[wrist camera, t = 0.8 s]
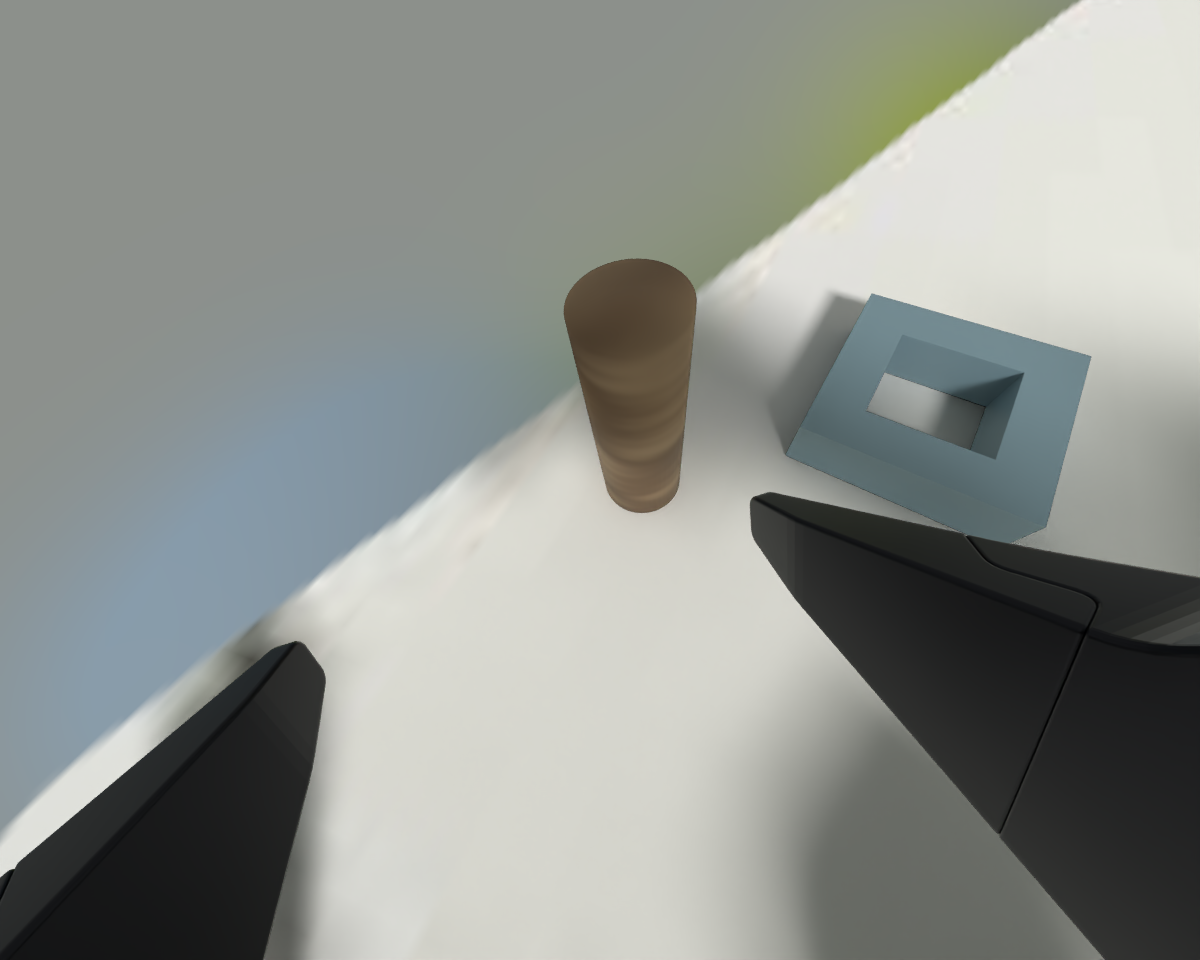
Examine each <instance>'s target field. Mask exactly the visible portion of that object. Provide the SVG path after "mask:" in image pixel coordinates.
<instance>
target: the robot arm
mask: <svg viewBox="0 0 1200 960" xmlns="http://www.w3.org/2000/svg"><path fill="white" fill-rule="evenodd" d="M750 517H751V532H752V535H753V538H754V540H755V542H756V543H757V545H758V546H759V548H760V549H761V551H762V552H763V554H764V555H765V557H766V558H767V559H768V561H769V562H770V564H771V565H772V567H773V568H774V570H775V571H776V573H777V574H778V575H779V577H780V578H781V580H782V581H783V583H784V584H785V586H786V587H787V589H788V590H789V591H790V593H791V594H792V595H793V597H794V598H795V599H796V601H797V602H798V603H799V604H800V605H801V607H802V608H803V609H804V610H805V611H806V613H807V614H808V615H809V616H810V617H811V618H812V619H813V621H814V622H815V623H816V624H817V625H818V626H819V628H820V629H821V630H822V631H823V632H824V633H825V635H826V636H827V637H828V638H829V639H830V640H831V642H832V643H833V644H834V645H835V646H836V647H837V648H838V650H839V651H840V652H841V653H842V654H843V655H844V657H845V658H846V659H847V660H848V661H849V662H850V664H851V665H852V666H853V667H854V668H855V669H856V671H857V672H858V673H859V674H860V675H861V676H862V678H863V679H864V680H865V681H866V682H867V683H868V684H869V686H870V687H871V688H872V689H873V690H874V691H875V693H876V694H877V695H878V696H879V697H880V698H881V700H882V701H883V702H884V703H885V704H886V705H887V707H888V708H889V709H890V710H891V711H892V712H893V714H894V715H895V716H896V717H897V718H898V719H899V720H900V722H901V723H902V724H903V725H904V726H905V727H906V729H907V730H908V731H909V732H910V733H911V734H912V736H913V737H914V738H915V739H916V740H917V741H918V743H919V744H920V745H921V746H922V747H923V748H924V750H925V751H926V752H927V753H928V754H929V755H930V756H931V758H932V759H933V760H934V761H935V762H936V763H937V765H938V766H939V767H940V768H941V769H942V770H943V772H944V773H945V774H946V775H947V776H948V777H949V779H950V780H951V781H952V782H953V783H954V784H955V785H956V787H957V788H958V789H959V790H960V791H961V792H962V794H963V795H964V796H965V797H966V798H967V799H968V801H969V802H970V803H971V804H972V805H973V806H974V808H975V809H976V810H977V811H978V812H979V813H980V815H981V816H982V817H983V818H984V819H985V820H986V821H987V823H988V824H989V825H990V826H991V827H992V828H993V830H994V831H995V832H996V833H998V834H1000V835H999V836H1000V838H1001V839H1002V841H1003V842H1004V843H1005V844H1006V845H1007V846H1008V848H1009V849H1010V850H1011V851H1012V852H1013V853H1014V855H1015V856H1016V857H1017V858H1018V859H1019V860H1020V862H1021V863H1022V864H1023V865H1024V866H1025V867H1026V868H1027V870H1028V871H1029V872H1030V873H1031V874H1032V875H1033V877H1034V878H1035V879H1036V880H1037V881H1038V882H1039V884H1040V885H1041V886H1042V887H1043V888H1044V889H1045V891H1046V892H1047V893H1048V894H1049V895H1050V896H1051V898H1052V899H1053V900H1054V901H1055V902H1056V903H1057V904H1058V906H1059V907H1060V908H1061V909H1062V910H1063V911H1064V913H1065V914H1066V915H1067V916H1068V917H1069V918H1070V920H1071V921H1072V922H1073V923H1074V924H1075V925H1076V927H1077V928H1078V929H1079V930H1080V931H1081V932H1082V933H1083V935H1084V936H1085V937H1086V938H1087V939H1088V940H1089V942H1090V943H1091V944H1092V945H1093V946H1094V947H1095V949H1096V950H1097V951H1098V952H1099V953H1100V954H1101V956H1102V957H1103V958H1104V959H1105V960H1200V577H1196V576H1190V575H1184V574H1178V573H1172V572H1166V571H1160V570H1154V569H1148V568H1143V567H1137V566H1131V565H1125V564H1119V563H1113V562H1107V561H1101V560H1096V559H1090V558H1084V557H1078V556H1073V555H1067V554H1062V553H1056V552H1051V551H1045V550H1039V549H1034V548H1029V547H1024V546H1020V545H1015V544H1010V543H1005V542H1000V541H995V540H990V539H986V538H981V537H977V536H972V535H967V536H965V535H964V534H962V533H958V532H953V531H949V530H944V529H939V528H935V527H930V526H926V525H921V524H916V523H912V522H907V521H902V520H898V519H893V518H888V517H884V516H879V515H875V514H870V513H865V512H861V511H856V510H852V509H847V508H842V507H838V506H833V505H828V504H824V503H819V502H815V501H810V500H805V499H801V498H796V497H792V496H787V495H782V494H778V493H773V492H767V493H764V494H761V495H758V496H755V497H753V498H752V499H751V501H750ZM325 685H326V678H325V673H324V671H323V669H322V667H321V666H320V665H319V663H318V662H317V661H316V659H315V658H314V656H313V655H312V654H311V652H310V651H309V650H308V648H307V647H306V646H305V645H304V644H303V643H302V642H299V641H294V642H291V643H288V644H285V645H282V646H278V647H276V648H274V649H272V650H270V651H269V652H268V653H267V654H266V655H264V656H263V657H262V658H261V659H260V660H259V661H257V662H256V663H255V664H254V665H253V666H251V667H250V668H249V669H248V670H247V671H245V672H244V673H243V674H242V675H241V676H240V677H238V678H237V679H236V680H235V681H234V682H232V683H231V684H230V685H229V686H228V687H226V688H225V689H224V690H223V691H222V692H221V693H219V694H218V695H217V696H216V697H215V698H213V699H212V700H211V701H210V702H209V703H207V704H206V705H205V706H204V707H203V708H201V709H200V710H199V711H198V712H197V713H196V714H194V715H193V716H192V717H191V718H190V719H188V720H187V721H186V722H185V723H184V724H182V725H181V726H180V727H179V728H178V729H177V730H175V731H174V732H173V733H172V734H171V735H169V736H168V737H167V738H166V739H165V740H163V741H162V742H161V743H160V744H159V745H157V746H156V747H155V748H154V749H153V750H152V751H150V752H149V753H148V754H147V755H146V756H144V757H143V758H142V759H141V760H140V761H138V762H137V763H136V764H135V765H134V766H133V767H131V768H130V769H129V770H128V771H127V772H125V773H124V774H123V775H122V776H121V777H119V778H118V779H117V780H116V781H115V782H114V783H112V784H111V785H110V786H109V787H108V788H106V789H105V790H104V791H103V792H102V793H100V794H99V795H98V796H97V797H96V798H94V799H93V800H92V801H91V802H90V803H89V804H87V805H86V806H85V807H84V808H83V809H81V810H80V811H79V812H78V813H77V814H75V815H74V816H73V817H72V818H71V819H70V820H68V821H67V822H66V823H65V824H64V825H62V826H61V827H60V828H59V829H58V830H56V831H55V832H54V833H53V834H52V835H50V836H49V837H48V838H47V839H46V840H45V841H43V842H42V843H41V844H40V845H39V846H37V847H36V848H35V849H34V850H33V851H31V852H30V853H29V854H28V855H27V856H26V857H24V858H23V859H22V860H21V861H20V862H19V863H18V864H17V865H16V867H15V869H12V870H9V871H8V872H6V873H5V874H4V875H3V876H2V877H0V960H264V957H265V953H266V949H267V945H268V941H269V938H270V934H271V930H272V926H273V922H274V918H275V914H276V910H277V906H278V902H279V898H280V895H281V891H282V887H283V883H284V879H285V875H286V871H287V867H288V863H289V859H290V856H291V852H292V848H293V844H294V840H295V836H296V832H297V828H298V824H299V820H300V816H301V813H302V809H303V805H304V801H305V797H306V793H307V789H308V785H309V781H310V777H311V772H312V768H313V763H314V757H315V752H316V745H317V738H318V732H319V725H320V718H321V712H322V705H323V698H324V691H325Z"/></svg>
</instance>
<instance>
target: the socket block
mask: <svg viewBox="0 0 1200 960" xmlns="http://www.w3.org/2000/svg"><path fill="white" fill-rule="evenodd" d="M1090 360H1091V356H1088V355H1085V354H1081V353H1078V352H1074V351H1071V350H1067V349H1064V348H1060V347H1057V346H1053V345H1050V344H1046V343H1043V342H1039V341H1036V340H1032V339H1029V338H1025V337H1022V336H1018V335H1015V334H1011V333H1008V332H1004V331H1001V330H997V329H994V328H990V327H987V326H983V325H980V324H976V323H973V322H970V321H966V320H963V319H959V318H956V317H952V316H949V315H945V314H942V313H938V312H935V311H931V310H928V309H924V308H921V307H917V306H914V305H910V304H907V303H903V302H900V301H896V300H893V299H889V298H886V297H882V296H879V295H875V294H871V296H870V298H869V300H868V301H867V303H866V305H865V307H864V309H863V311H862V313H861V315H860V316H859V318H858V320H857V322H856V324H855V326H854V328H853V329H852V331H851V333H850V335H849V337H848V339H847V341H846V342H845V344H844V346H843V348H842V350H841V352H840V354H839V355H838V357H837V359H836V361H835V363H834V365H833V367H832V368H831V370H830V372H829V374H828V376H827V378H826V380H825V381H824V383H823V385H822V387H821V389H820V391H819V393H818V394H817V396H816V398H815V400H814V402H813V404H812V406H811V407H810V409H809V411H808V413H807V415H806V417H805V419H804V420H803V422H802V424H801V426H800V428H799V430H798V432H797V434H796V435H795V437H794V439H793V441H792V443H791V445H790V447H789V449H788V451H787V453H786V456H788V457H791V458H793V459H795V460H797V461H800V462H802V463H804V464H807V465H809V466H811V467H813V468H816V469H818V470H820V471H823V472H825V473H827V474H830V475H832V476H834V477H836V478H839V479H841V480H843V481H846V482H848V483H850V484H852V485H855V486H857V487H859V488H862V489H864V490H866V491H869V492H871V493H873V494H875V495H878V496H880V497H882V498H885V499H887V500H889V501H891V502H894V503H896V504H898V505H901V506H903V507H905V508H907V509H910V510H912V511H914V512H917V513H919V514H921V515H924V516H926V517H928V518H930V519H933V520H935V521H937V522H940V523H942V524H944V525H946V526H949V527H951V528H953V529H956V530H958V531H960V532H963V533H965V534H967V535H972V536H977V537H981V538H986V539H990V540H995V541H1000V542H1005V543H1011V542H1013V541H1016V540H1018V539H1020V538H1023V537H1025V536H1027V535H1029V534H1032V533H1034V532H1036V531H1039V530H1041V529H1043V528H1045V527H1046V525H1047V521H1048V517H1049V514H1050V510H1051V506H1052V502H1053V499H1054V495H1055V491H1056V487H1057V484H1058V480H1059V476H1060V472H1061V469H1062V465H1063V461H1064V457H1065V454H1066V450H1067V446H1068V442H1069V439H1070V435H1071V431H1072V427H1073V424H1074V420H1075V416H1076V412H1077V408H1078V405H1079V401H1080V397H1081V393H1082V390H1083V386H1084V382H1085V378H1086V375H1087V371H1088V367H1089V363H1090ZM884 372H886V373H889V374H892V375H895V376H898V377H900V378H903V379H906V380H909V381H912V382H915V383H918V384H921V385H924V386H927V387H930V388H933V389H936V390H938V391H941V392H944V393H947V394H950V395H953V396H956V397H959V398H962V399H965V400H968V401H971V402H974V403H976V404H979V405H982V406H985V407H986V408H985V411H984V414H983V416H982V419H981V422H980V425H979V428H978V430H977V433H976V436H975V439H974V441H973V444H972V447H971V450H968V449H965V448H963V447H960V446H958V445H955V444H952V443H950V442H947V441H944V440H942V439H939V438H936V437H934V436H931V435H928V434H926V433H923V432H920V431H918V430H915V429H912V428H910V427H907V426H904V425H902V424H899V423H896V422H894V421H891V420H888V419H886V418H883V417H880V416H878V415H875V414H872V413H870V412H867V411H866V409H867V407H868V405H869V403H870V401H871V399H872V397H873V395H874V393H875V391H876V389H877V387H878V384H879V382H880V380H881V378H882V376H883V374H884Z"/></svg>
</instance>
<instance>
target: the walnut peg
mask: <svg viewBox="0 0 1200 960" xmlns="http://www.w3.org/2000/svg"><path fill="white" fill-rule="evenodd" d="M696 302H697V299H696V293H695V290H694V287H693V285H692V284H691V282H690V281H689V280H688V278H687V277H686V276H685V275H684V274H683V273H682V272H680V271H679V270H677V269H676V268H674V267H672V266H670V265H668V264H665V263H662V262H659V261H655V260H649V259H625V260H619V261H614V262H611V263H608V264H605V265H602V266H600V267H598V268H596V269H594V270H592V271H590V272H589V273H587V274H586V275H585V276H583V277H582V278H581V279H580V280H579V281H578V282H577V283H576V284H575V285H574V286H573V288H572V289H571V290H570V292H569V294H568V296H567V298H566V301H565V305H564V318H565V322H566V327H567V331H568V334H569V338H570V343H571V347H572V351H573V355H574V359H575V363H576V367H577V371H578V375H579V379H580V383H581V387H582V391H583V395H584V399H585V403H586V407H587V411H588V415H589V419H590V423H591V427H592V431H593V435H594V439H595V443H596V448H597V452H598V456H599V460H600V464H601V468H602V472H603V476H604V480H605V484H606V488H607V491H608V493H609V495H610V497H611V498H612V500H613V501H614V502H615V503H616V504H618V505H619V506H620V507H622V508H624V509H626V510H628V511H631V512H636V513H647V512H652V511H655V510H658V509H660V508H662V507H664V506H665V505H666V504H668V503H669V502H670V501H671V500H672V499H673V497H674V496H675V494H676V492H677V489H678V486H679V479H680V469H681V458H682V448H683V438H684V428H685V417H686V407H687V397H688V387H689V376H690V366H691V356H692V346H693V335H694V325H695V315H696Z"/></svg>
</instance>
